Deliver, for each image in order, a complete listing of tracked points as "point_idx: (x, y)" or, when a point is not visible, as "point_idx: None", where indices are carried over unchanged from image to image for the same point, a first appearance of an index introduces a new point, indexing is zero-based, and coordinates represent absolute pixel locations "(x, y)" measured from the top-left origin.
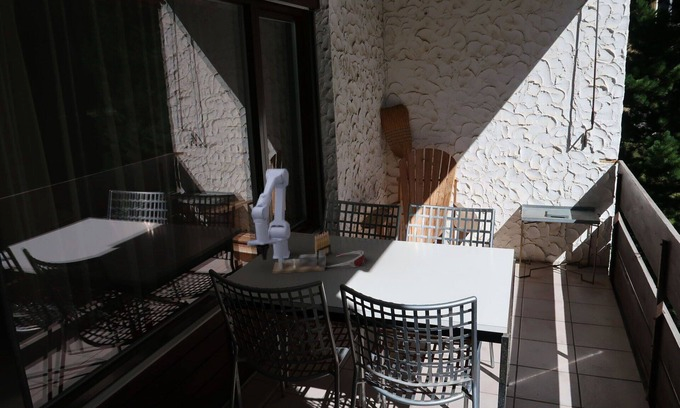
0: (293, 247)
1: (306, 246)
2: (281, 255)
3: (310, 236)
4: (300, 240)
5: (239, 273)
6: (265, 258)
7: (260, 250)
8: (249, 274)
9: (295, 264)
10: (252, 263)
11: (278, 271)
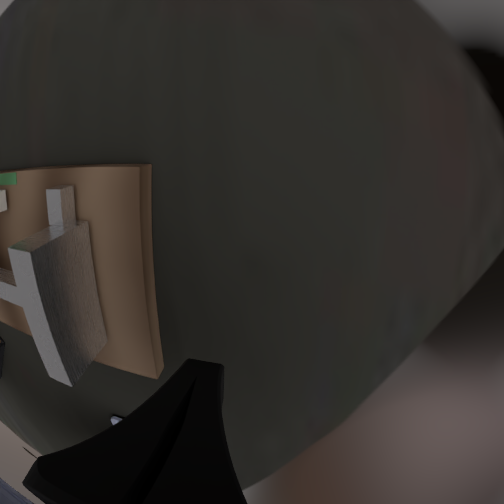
0: None
1: None
2: (55, 374)
3: None
4: None
5: (460, 268)
6: (185, 368)
7: (211, 487)
8: (390, 214)
9: None
10: (331, 425)
11: (92, 166)
